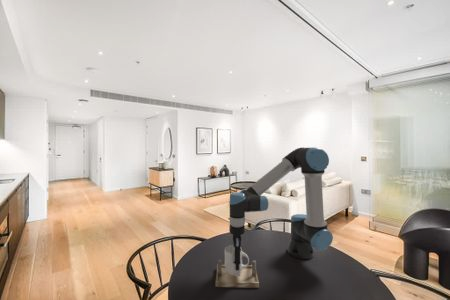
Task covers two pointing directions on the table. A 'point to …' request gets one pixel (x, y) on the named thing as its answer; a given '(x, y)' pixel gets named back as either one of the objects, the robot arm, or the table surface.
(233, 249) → the mug
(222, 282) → the tray
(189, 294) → the table surface
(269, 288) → the table surface
